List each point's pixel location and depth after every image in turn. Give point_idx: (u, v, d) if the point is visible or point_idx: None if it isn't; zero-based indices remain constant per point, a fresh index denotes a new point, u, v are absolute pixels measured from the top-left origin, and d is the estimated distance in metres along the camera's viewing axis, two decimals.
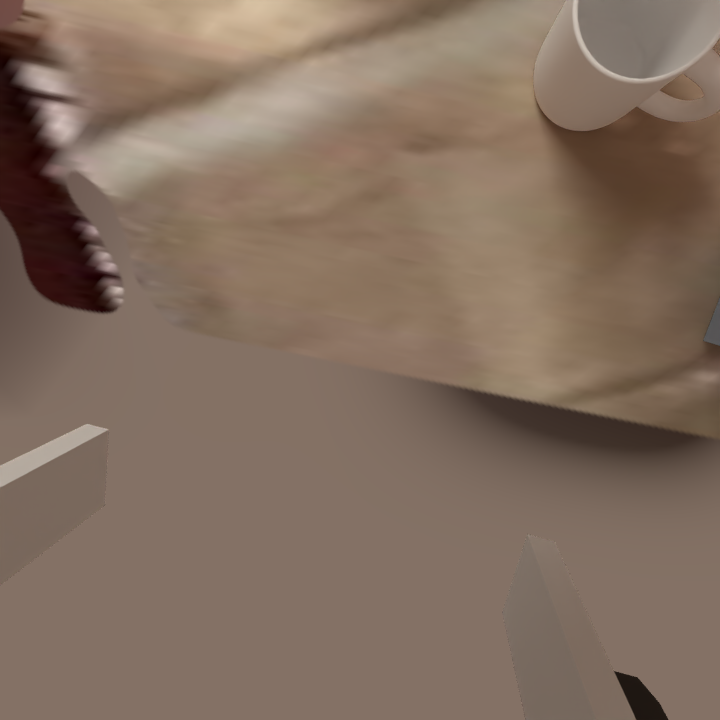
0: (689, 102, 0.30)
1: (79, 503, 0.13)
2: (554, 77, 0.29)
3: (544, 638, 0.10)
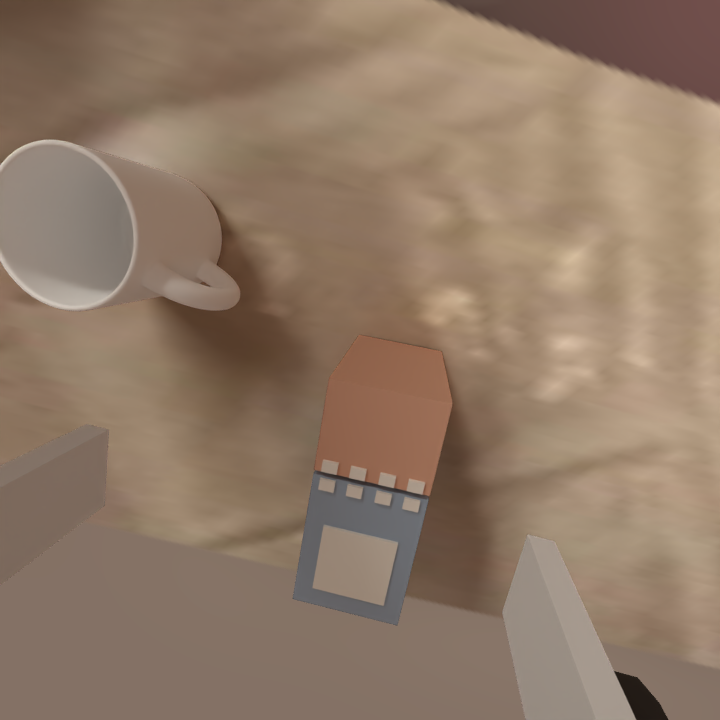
0: (222, 287, 0.28)
1: (79, 503, 0.13)
2: None
3: (544, 638, 0.10)
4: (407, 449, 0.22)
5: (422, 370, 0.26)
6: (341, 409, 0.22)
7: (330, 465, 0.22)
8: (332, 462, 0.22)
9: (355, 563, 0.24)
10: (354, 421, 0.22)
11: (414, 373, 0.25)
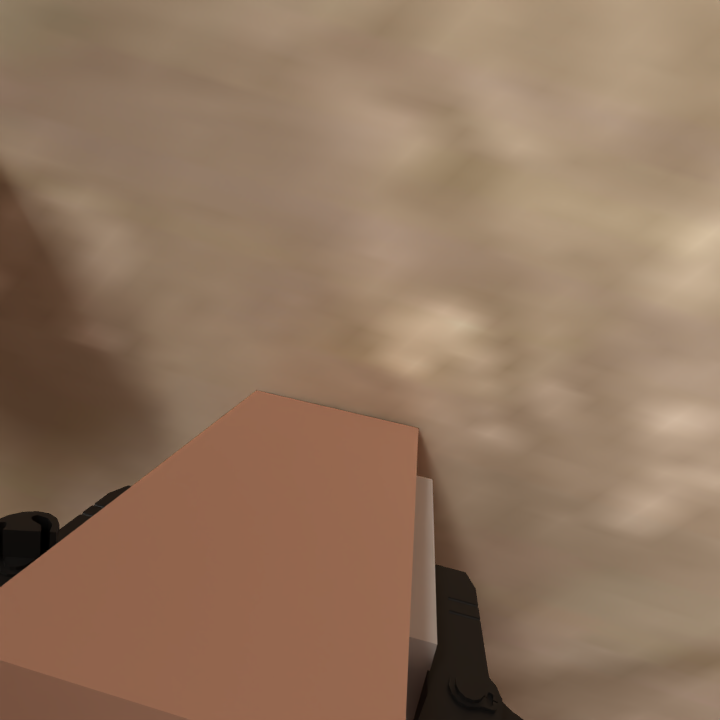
0: None
1: None
2: None
3: None
4: None
5: (349, 515, 0.10)
6: None
7: None
8: None
9: None
10: None
11: (322, 533, 0.09)
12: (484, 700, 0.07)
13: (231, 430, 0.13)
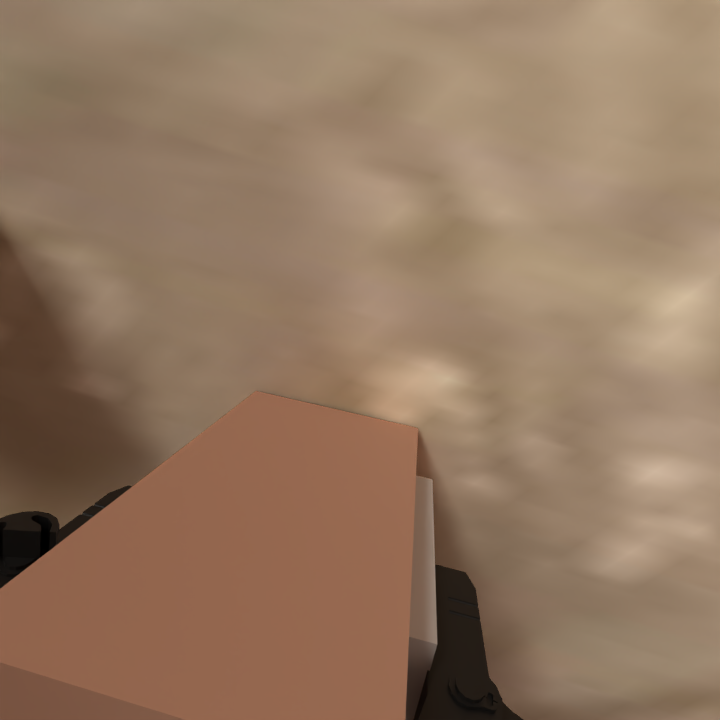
0: None
1: None
2: None
3: None
4: None
5: (349, 516, 0.10)
6: None
7: None
8: None
9: None
10: None
11: (322, 533, 0.09)
12: (484, 700, 0.07)
13: (231, 431, 0.13)
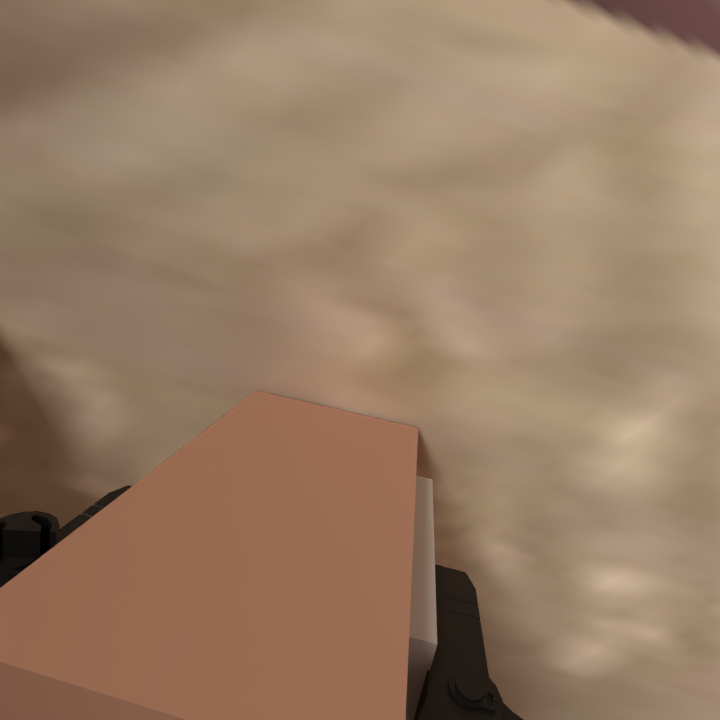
0: None
1: None
2: None
3: None
4: None
5: (349, 516, 0.10)
6: None
7: None
8: None
9: None
10: None
11: (322, 533, 0.09)
12: (484, 700, 0.07)
13: (231, 430, 0.13)
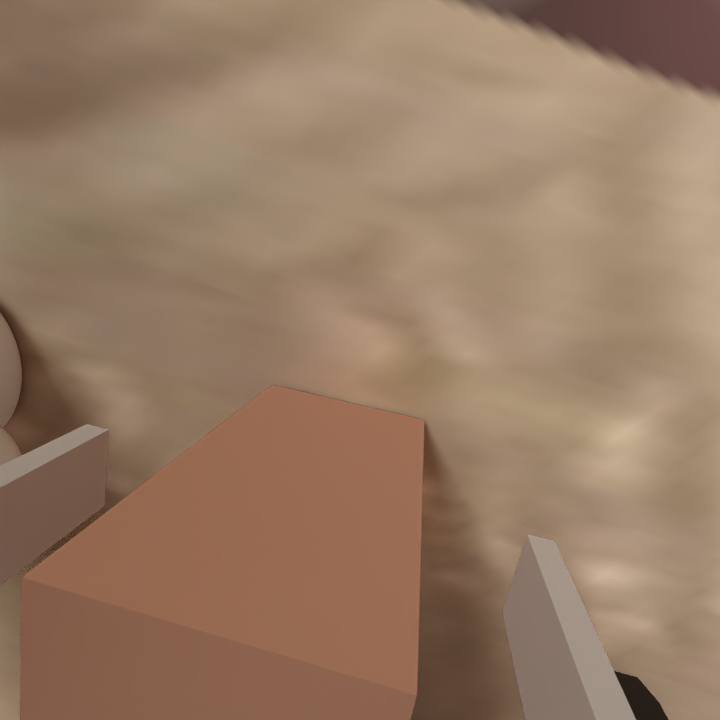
0: None
1: (79, 503, 0.13)
2: None
3: (544, 638, 0.10)
4: None
5: (363, 492, 0.11)
6: (70, 668, 0.07)
7: None
8: None
9: None
10: (112, 707, 0.07)
11: (340, 506, 0.10)
12: None
13: (252, 419, 0.14)
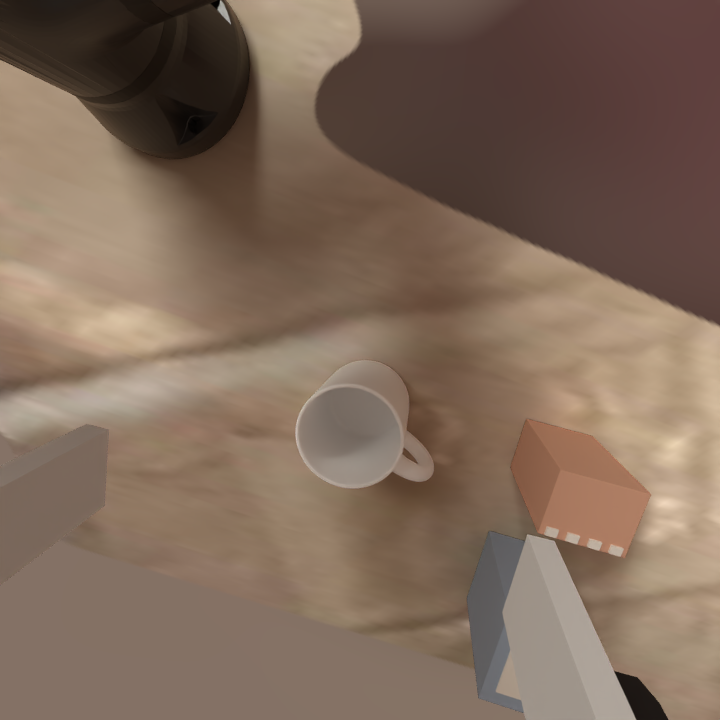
0: (420, 455, 0.39)
1: (79, 503, 0.13)
2: None
3: (544, 638, 0.10)
4: (612, 523, 0.30)
5: (601, 459, 0.34)
6: (566, 491, 0.30)
7: (552, 531, 0.31)
8: (554, 529, 0.31)
9: None
10: (575, 501, 0.31)
11: (600, 462, 0.34)
12: None
13: (542, 434, 0.37)
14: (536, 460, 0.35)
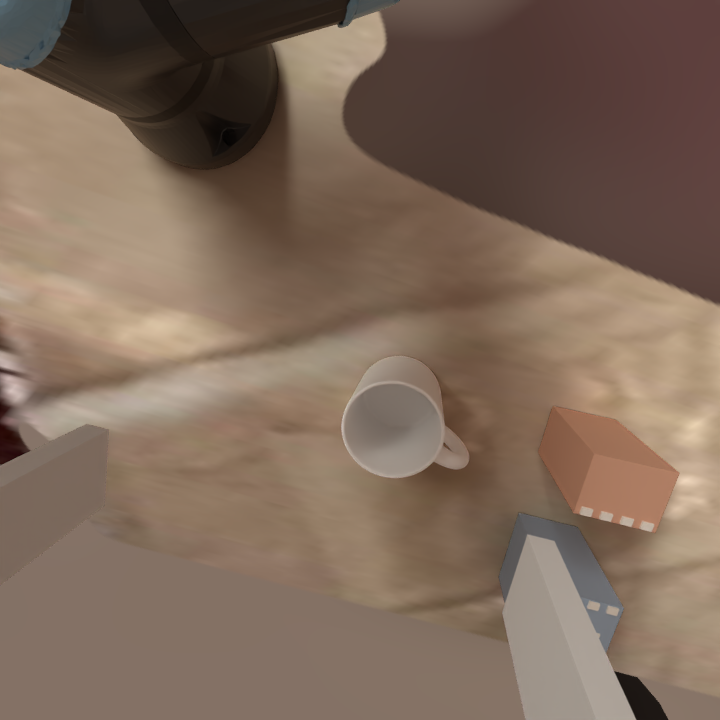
0: (454, 444, 0.41)
1: (79, 503, 0.13)
2: None
3: (544, 638, 0.10)
4: (643, 501, 0.33)
5: (629, 442, 0.37)
6: (600, 473, 0.33)
7: (587, 510, 0.33)
8: (589, 508, 0.33)
9: None
10: (608, 482, 0.33)
11: (628, 444, 0.36)
12: None
13: (570, 420, 0.40)
14: (566, 444, 0.38)
